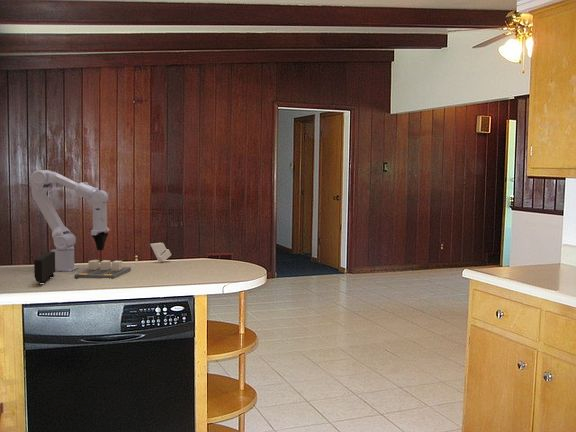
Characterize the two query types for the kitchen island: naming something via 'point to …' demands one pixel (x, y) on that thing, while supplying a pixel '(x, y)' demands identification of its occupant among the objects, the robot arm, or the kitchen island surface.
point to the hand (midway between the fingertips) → (100, 250)
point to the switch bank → (102, 273)
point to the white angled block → (161, 251)
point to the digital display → (44, 267)
